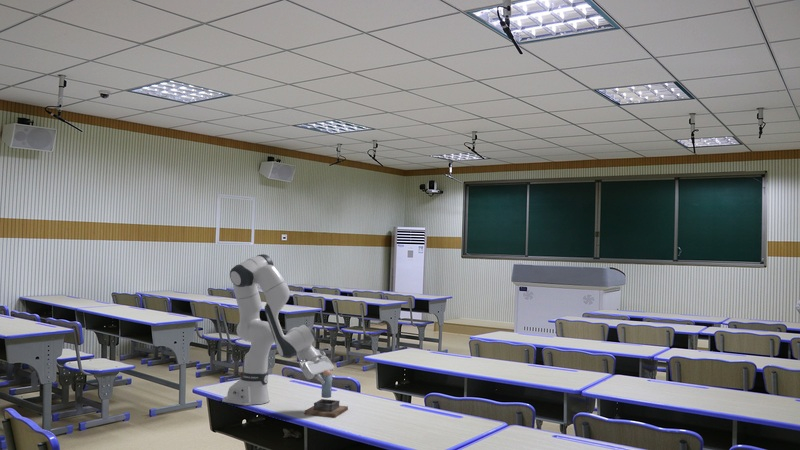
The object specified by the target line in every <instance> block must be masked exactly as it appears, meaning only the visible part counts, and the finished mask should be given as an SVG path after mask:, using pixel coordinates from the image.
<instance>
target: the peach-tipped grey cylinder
mask: <svg viewBox="0 0 800 450" xmlns="http://www.w3.org/2000/svg"><path fill="white" fill-rule="evenodd" d="M321 377H322V378H323V379H325V380H326V383H325V384H322V383H321V398H322V399H328V398H329V399H330V398H332V385H333V384H332V383H333V382H332V381H333V380H332V379H333V373H332V372H331V371H330V370H325V371H323V373H322V376H321Z"/></svg>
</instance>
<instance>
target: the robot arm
mask: <svg viewBox="0 0 800 450" xmlns="http://www.w3.org/2000/svg"><path fill="white" fill-rule="evenodd" d="M229 279H230V281H231V283H232V285H233V292H234V296H235V300H236V304H237V308H238V312H239V323H238V325H237V326H236V334H237V335H236V336H238V337H239V339H241V340H243V341H245V342H249V343H251V344H250V348H249V350H248V352H246V353H245V355H244V362H243V365H244V366H243V371H242V372H240V373H239V374H238V377H240V378H239V380H237V381H236V382H235V383H234V384H232V385H231V386H229V388H228V391H227V394H226V396H224V397H223V398H222V400H221V401H222V402H223V403H228V404H235V405H239V406H252V405H263V404H266V403H267V404H268V403H269V402H270V396H269V389H268V382H269V371H268V365H269V354H270V352H271V348H272V345H273V344H275V347H276V351H277V353H278V354H279V356H280V357H282V358H284V359H291V358H293V357H294V356H295V355H297V359H298V360H299V367H300V371H302V374H303V376H305V378H306V379H307V380H311V379H314V378H315V379H316V380H317V381H318V382H320V383H321V385H322V384H325V383H326V380H325V379H323V378H322V373H323V371H325V370H330V371H331V373H332V372H333V371H334V370H335V366H334V364H333V362H332V360H330V358H329V357H328V356H327V355H326V353H325V351H323V350H320V349H316V348H315V346H314V345H312V344H313V343H314V342H315V340H316V337H317V334H316V332H315V330H314V329H313V327H312V326H311V325H309V324H305V323H304V324H301V325H300V326H298V327H297V326H295V327H291V328H290V329H289V330H288V331H287V332H286V334H284V332H283V328H282V326H281V324H280V320H279V313H280V311H281V310H282V309H283V307H284V306H285V305H286V304H287V303H288V301H289V299H290V296H291V290H290V287H289V285H288V284H287V282H286V280H285V279H284V276H282V274H281V272H280V271H279V270H278V269H277V268H276V266H275V265H274V262H273V260H272V258H271V257H270V256H269V255H267V254H263V253H262V254H258V255H256V256H253V257H250V258H247V259H246V260H244V261H243V262H240V263H239V264H236V265H235V266H233V267H232V268H231V269H230V271H229ZM257 284H258V285H259V287H260V289H261V291H262V293H263V295H264V297H265V302H266V304H265V305H264V313H265V317H266V320H267V321H265V320H262V319H261V318H260V312H261V310H262V308H263V303H262V300H261V295H260V292H259V288H258V285H257ZM332 381H333V378H332Z"/></svg>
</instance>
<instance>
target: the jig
mask: <svg viewBox="0 0 800 450" xmlns="http://www.w3.org/2000/svg"><path fill="white" fill-rule="evenodd" d="M348 410H349V406H347V405H340V400H337V399H328V398H321V399H319V400H317V401H316V402H313V406H311V407H309V408H307V409H305V410H304V415H310V416H318V417H328V418H336V419H337V417H338V416H341V415H342V414H344V413H345V412H346V411H348Z"/></svg>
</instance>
